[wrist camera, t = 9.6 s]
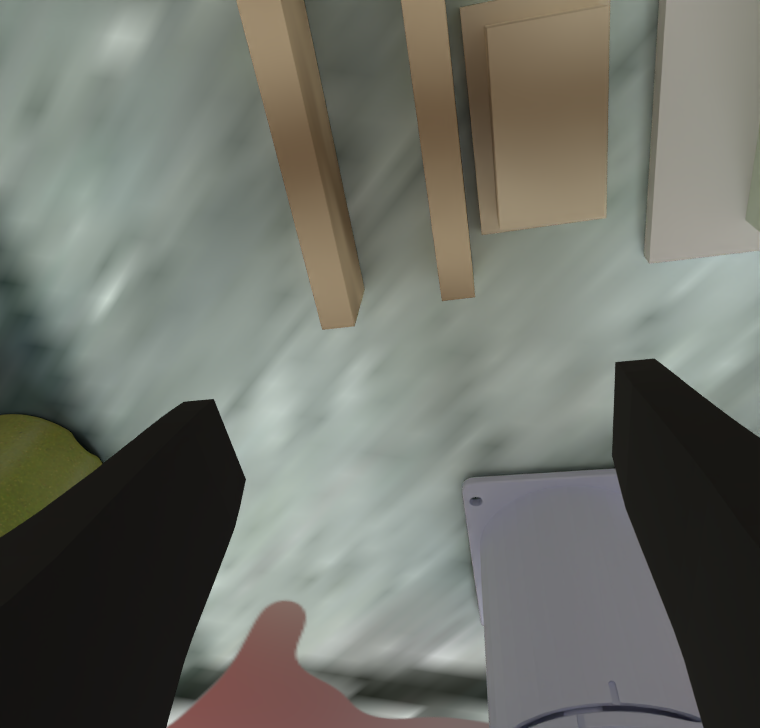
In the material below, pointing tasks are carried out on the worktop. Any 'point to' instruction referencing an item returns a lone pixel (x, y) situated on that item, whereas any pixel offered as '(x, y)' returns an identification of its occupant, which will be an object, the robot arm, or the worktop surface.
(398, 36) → the worktop surface
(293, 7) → the rack
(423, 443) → the worktop surface
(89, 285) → the worktop surface
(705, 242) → the mat
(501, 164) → the offcut upper
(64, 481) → the plant pot
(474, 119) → the offcut lower
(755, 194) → the block
